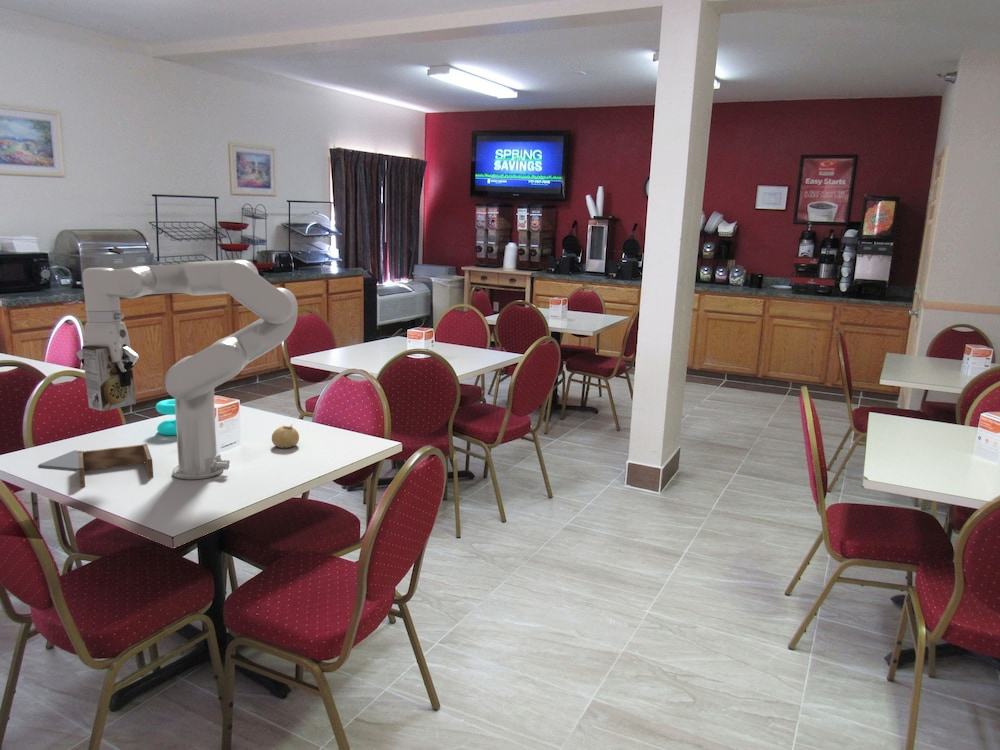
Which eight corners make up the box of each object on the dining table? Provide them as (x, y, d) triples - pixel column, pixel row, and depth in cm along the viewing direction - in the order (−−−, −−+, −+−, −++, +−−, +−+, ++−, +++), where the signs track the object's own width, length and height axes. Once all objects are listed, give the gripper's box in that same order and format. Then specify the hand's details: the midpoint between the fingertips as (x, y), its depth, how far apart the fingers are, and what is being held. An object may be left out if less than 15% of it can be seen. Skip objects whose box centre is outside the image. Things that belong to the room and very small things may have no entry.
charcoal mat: (115, 455, 197) (115, 453, 197) (81, 470, 185) (81, 468, 185) (74, 452, 199) (74, 450, 199) (38, 466, 187) (38, 464, 186)
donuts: (149, 404, 215) (165, 397, 225) (151, 435, 217) (167, 427, 227) (180, 406, 215) (195, 398, 225) (182, 437, 217) (197, 428, 227)
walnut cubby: (148, 461, 194) (146, 444, 193) (153, 477, 182) (152, 459, 181) (79, 469, 186) (78, 451, 184) (80, 487, 174) (78, 468, 172)
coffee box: (122, 400, 184) (116, 340, 181) (136, 404, 181) (131, 343, 178) (87, 408, 177) (81, 345, 173) (102, 411, 174) (95, 348, 170)
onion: (270, 451, 207) (270, 428, 205) (273, 443, 214) (272, 421, 213) (298, 450, 208) (298, 427, 207) (300, 442, 216) (299, 420, 215)
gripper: (145, 317, 177) (150, 384, 180) (83, 314, 179) (90, 380, 183) (125, 320, 169) (131, 390, 173) (61, 317, 172) (69, 386, 176)
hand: (110, 384), depth 178 cm, fingers closed on coffee box, 8 cm apart
